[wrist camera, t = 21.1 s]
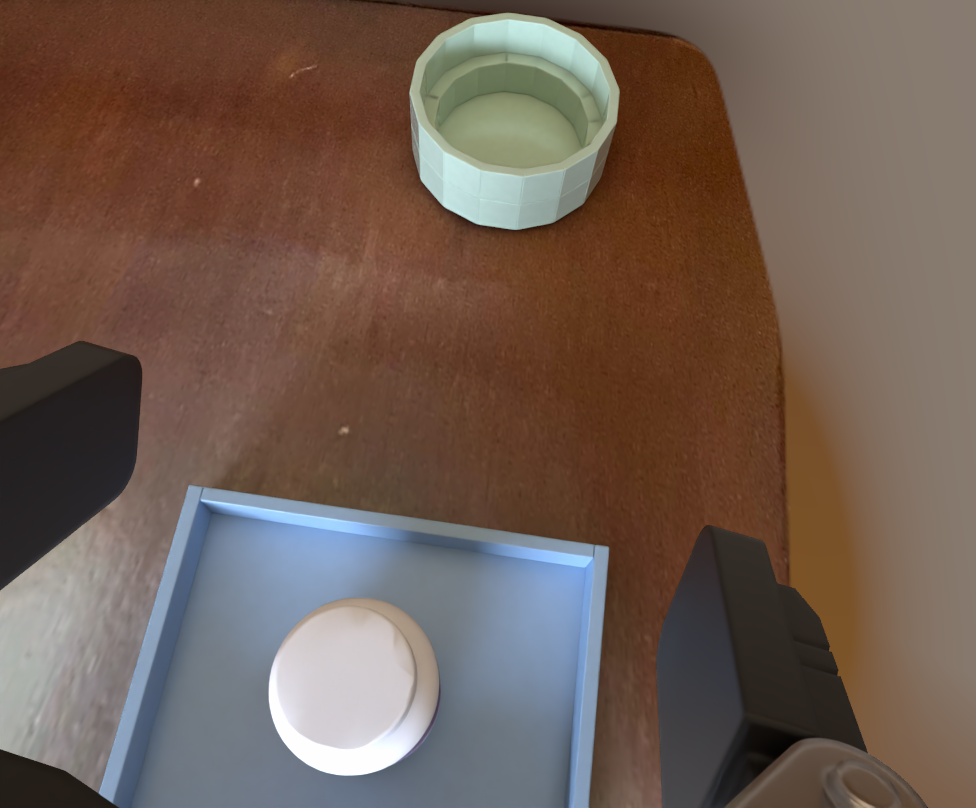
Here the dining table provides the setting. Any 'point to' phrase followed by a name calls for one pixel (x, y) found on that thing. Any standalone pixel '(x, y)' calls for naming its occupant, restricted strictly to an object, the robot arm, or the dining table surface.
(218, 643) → the tray
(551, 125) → the bowl
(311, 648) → the pill bottle
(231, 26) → the dining table surface
